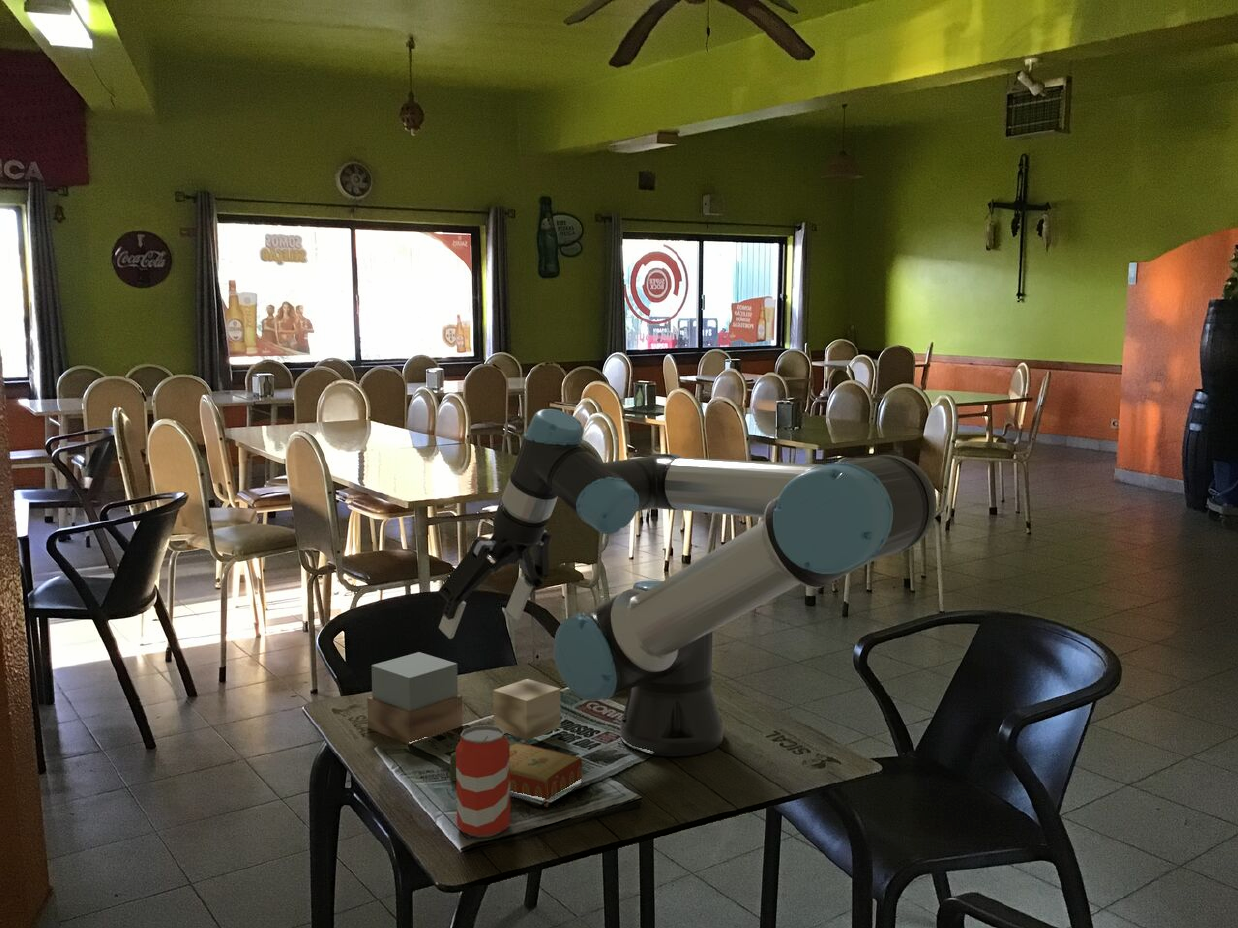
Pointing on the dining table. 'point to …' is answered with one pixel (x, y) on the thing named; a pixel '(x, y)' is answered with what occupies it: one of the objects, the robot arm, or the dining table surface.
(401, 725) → the tower base
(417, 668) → the tower top
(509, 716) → the maple cube
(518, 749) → the carton
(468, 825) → the beverage can
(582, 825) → the dining table surface
